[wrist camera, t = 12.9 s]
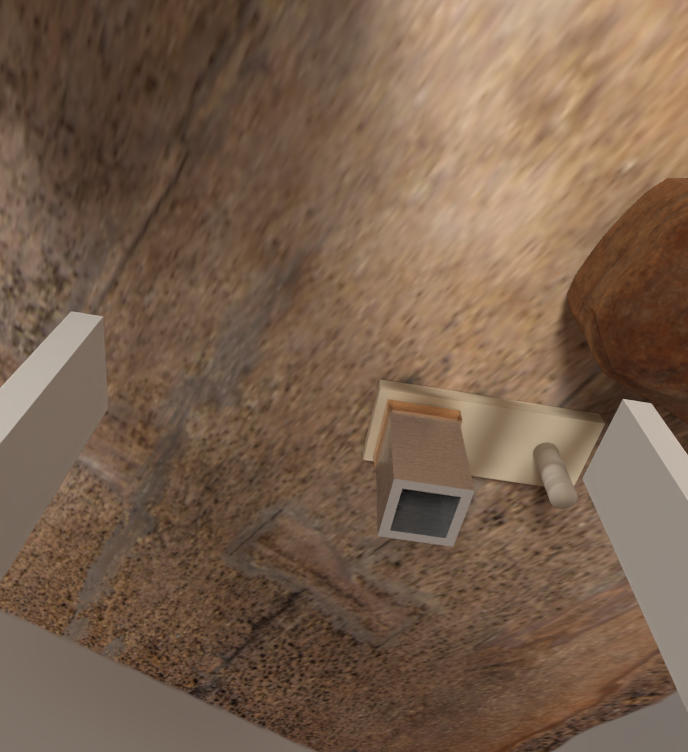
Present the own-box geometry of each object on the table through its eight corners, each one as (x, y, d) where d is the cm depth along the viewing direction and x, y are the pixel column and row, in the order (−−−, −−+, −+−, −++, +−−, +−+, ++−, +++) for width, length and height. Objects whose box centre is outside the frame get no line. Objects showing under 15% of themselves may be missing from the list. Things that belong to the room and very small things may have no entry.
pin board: (363, 449, 57) (363, 506, 51) (379, 379, 53) (382, 431, 46) (567, 479, 58) (592, 539, 52) (599, 413, 54) (630, 469, 48)
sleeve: (373, 454, 55) (374, 537, 47) (387, 397, 52) (391, 476, 43) (441, 464, 56) (454, 548, 47) (459, 409, 52) (478, 489, 44)
